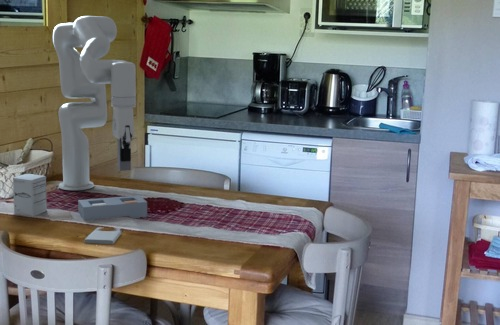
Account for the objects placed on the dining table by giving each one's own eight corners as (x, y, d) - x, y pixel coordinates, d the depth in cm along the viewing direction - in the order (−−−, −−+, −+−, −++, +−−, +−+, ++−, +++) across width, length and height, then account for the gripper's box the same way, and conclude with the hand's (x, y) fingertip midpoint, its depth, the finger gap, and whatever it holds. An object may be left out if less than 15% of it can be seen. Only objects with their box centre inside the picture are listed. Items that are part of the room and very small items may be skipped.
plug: (117, 168, 212) (117, 134, 210) (128, 168, 213) (127, 134, 211) (120, 170, 209) (119, 136, 207) (130, 170, 210) (130, 135, 208)
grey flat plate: (47, 217, 209) (47, 214, 209) (69, 215, 212) (69, 212, 212) (50, 224, 202) (50, 220, 202) (74, 221, 205) (74, 218, 205)
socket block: (78, 215, 212) (78, 199, 211) (139, 209, 221) (139, 194, 220) (83, 222, 204) (83, 206, 203) (147, 217, 213) (147, 201, 212)
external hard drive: (84, 244, 186) (96, 231, 198) (113, 245, 186) (123, 232, 198) (84, 239, 186) (96, 226, 198) (113, 240, 186) (123, 227, 198)
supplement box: (13, 216, 209) (11, 177, 207) (28, 210, 216) (27, 172, 213) (33, 219, 207) (31, 179, 204) (47, 213, 213) (46, 175, 211)
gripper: (106, 99, 213) (107, 155, 216) (117, 105, 198) (117, 165, 202) (129, 99, 216) (129, 154, 219) (142, 104, 201) (142, 164, 205)
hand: (124, 159), depth 210 cm, fingers closed on plug, 3 cm apart
